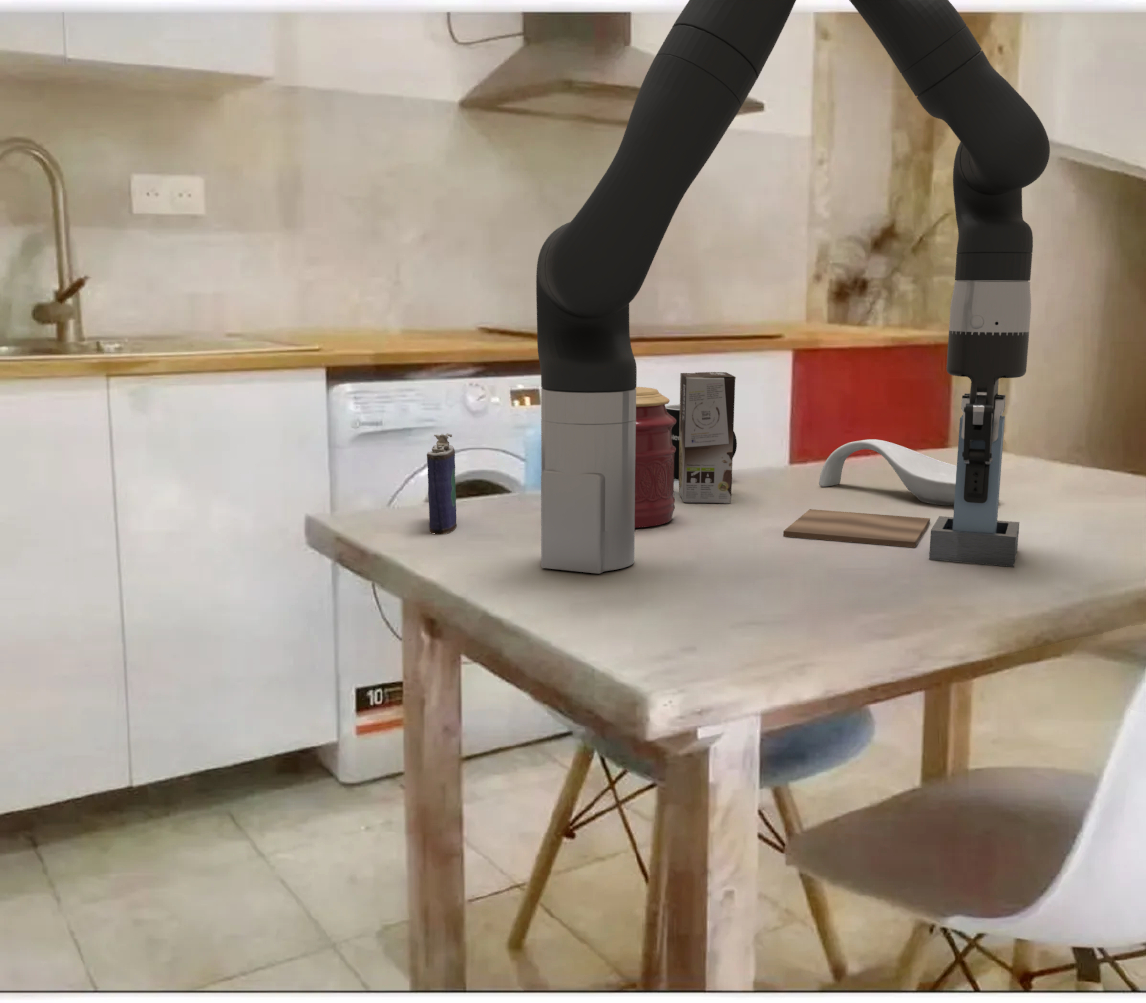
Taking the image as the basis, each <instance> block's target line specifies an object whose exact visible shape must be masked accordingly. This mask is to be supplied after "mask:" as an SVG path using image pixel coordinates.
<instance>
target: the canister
mask: <svg viewBox="0 0 1146 1003" xmlns="http://www.w3.org/2000/svg"><path fill="white" fill-rule="evenodd" d="M669 403H670V398H668V397H666V396H665V395H663V394H662V393H661V392H659V390H658V389H657V388H654V387H653V388H652V387H645V386H644V387H643V386H636V446H635V529H641V528H651V527H657V526H661V525H664V524H667V523H669V522H671V521H672V520H673V515H674V511H675V507H676V505H675V502H676V499H675V495H674V492H675V490H674V489H675V486H674V484H675V482H674V481H675V478H674V453H675V452H676V448H675V446H673V445H672V433H671V430H672V427H673V426H674V425H675V424H676V419H675V418H674V417H673V416H671V415H670V414H668V412H667V410H666V407H665V406H666V405H667V404H668V405H669Z"/></svg>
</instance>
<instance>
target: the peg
mask: <svg viewBox="0 0 1146 1003" xmlns="http://www.w3.org/2000/svg"><path fill="white" fill-rule="evenodd" d="M1005 420H1006V416H1005V415H1002V417H1000V420H999V433H998V440H997V441H996V442H995V443H993V444H992V457H993V461H992V462H991V465H990V469H989V483H988V497H987V500H986V502H985V503H971V502H966V501H965V500H964V485H965V471H966V464H965V461H963V457H962V452H964V440H963V439H962V436H961V434H962V423H963V414H962V415H961V417H960V418H959V427H958V440H957V441H958V444H957V454H956V455H957V459H956V466H957V470H956V485H955V500H954V505H953V515H952V517H953V530H959V531H971V532H984V533H996V531H997V520H998V515H999V504H1000V502H999V501H1000V488H1001V477H1002V476H1001V475H1002V463H1003V462H1002V461H1003V449H1004V447H1003V446H1004V435H1005V434H1004V432H1005V422H1006V421H1005ZM993 424H994V419H993V423H992V431H993ZM971 448H973V449H985V442H979V441H974V442H972V444H971Z"/></svg>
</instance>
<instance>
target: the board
mask: <svg viewBox="0 0 1146 1003" xmlns="http://www.w3.org/2000/svg"><path fill="white" fill-rule="evenodd" d="M930 523H931V518H930V517H917V516H904V515H891V514H880V513H879V514H878V513H865V512H851V511H840V510H839V511H838V510H826V509H824V510H823V509H813V508H810V509H808V510H807V511H806V512H804V513H803V514H802V515H801V516H800V517H798V518H797V519H796V520H794V522H792V523H791V524H790V525H789V526H788V527H786V528H785V529H784V530H783V534H782V535H783V537H785V538H800V539H809V540H810V539H811V540H822V541H834V542H842V543H843V542H844V543H858V544H865V545H866V544H869V545H878V546H879V545H881V546H890V547H891V546H892V547H903V548H913V549H914V548H916V547H917V545H918V543H919V541H920V540H921V538H922V537H923V535H924V533H925V532H926V530H927V528H928V527H929V526H930Z"/></svg>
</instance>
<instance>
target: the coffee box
mask: <svg viewBox="0 0 1146 1003" xmlns="http://www.w3.org/2000/svg"><path fill="white" fill-rule="evenodd" d="M736 378H737V377H736V376H734V374H733V375H732V374H730V373H729V372H722V371H706V372H705V371H703V372H699V371H698V372H680V378H679V386H680V387H679V404H680V431H679V479H678V492H680V493H679V495H680V497H681V499H682V502H683V503H700V504H701V503H702V504H703V503H704V504H705V503H706V504H707V503H708V504H709V503H710V504H714V503H715V504H730V503H732V489H733V488H732V485H733V462H734V461H733V460H734V459H733V458H734V457H733V431H734V430H735V429H734V428H735V427H734V424H735V423H734V422H735V399H736V398H735V397H736V396H735V395H736V393H735V392H736Z"/></svg>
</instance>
